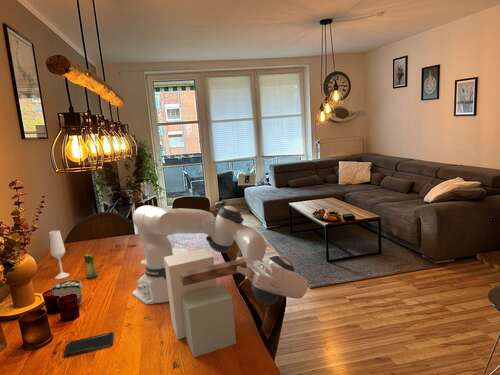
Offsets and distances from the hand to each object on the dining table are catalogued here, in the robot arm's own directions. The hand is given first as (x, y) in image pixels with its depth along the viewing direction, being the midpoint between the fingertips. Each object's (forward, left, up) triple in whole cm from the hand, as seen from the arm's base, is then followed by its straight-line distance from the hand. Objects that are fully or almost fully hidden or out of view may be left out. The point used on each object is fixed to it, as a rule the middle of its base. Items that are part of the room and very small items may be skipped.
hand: (233, 265), depth 113 cm
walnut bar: (-3, -6, -2) cm, 7 cm away
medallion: (-82, +37, -25) cm, 93 cm away
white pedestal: (-17, -4, -24) cm, 30 cm away
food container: (-77, -19, -25) cm, 83 cm away
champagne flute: (-114, -6, -25) cm, 116 cm away
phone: (-41, -31, -25) cm, 57 cm away
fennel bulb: (-97, +1, -25) cm, 100 cm away
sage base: (-6, -8, -24) cm, 26 cm away
